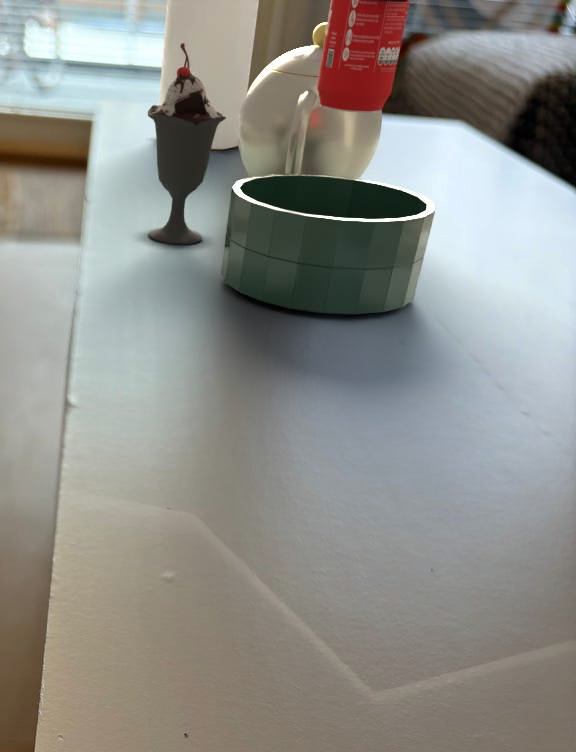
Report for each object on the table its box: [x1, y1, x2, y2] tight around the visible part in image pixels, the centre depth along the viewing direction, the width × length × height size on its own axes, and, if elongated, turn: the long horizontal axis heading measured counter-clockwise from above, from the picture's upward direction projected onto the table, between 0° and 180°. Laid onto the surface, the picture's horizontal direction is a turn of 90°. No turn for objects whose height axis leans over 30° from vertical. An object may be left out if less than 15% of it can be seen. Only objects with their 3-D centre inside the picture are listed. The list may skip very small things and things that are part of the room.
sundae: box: [147, 43, 226, 245], centre depth 84 cm, size 7×7×15 cm
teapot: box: [238, 22, 383, 179], centre depth 93 cm, size 18×14×16 cm
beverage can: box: [317, 0, 411, 113], centre depth 66 cm, size 5×5×12 cm
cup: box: [158, 0, 260, 151], centre depth 122 cm, size 11×11×18 cm
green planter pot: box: [220, 174, 436, 315], centre depth 76 cm, size 15×15×7 cm
